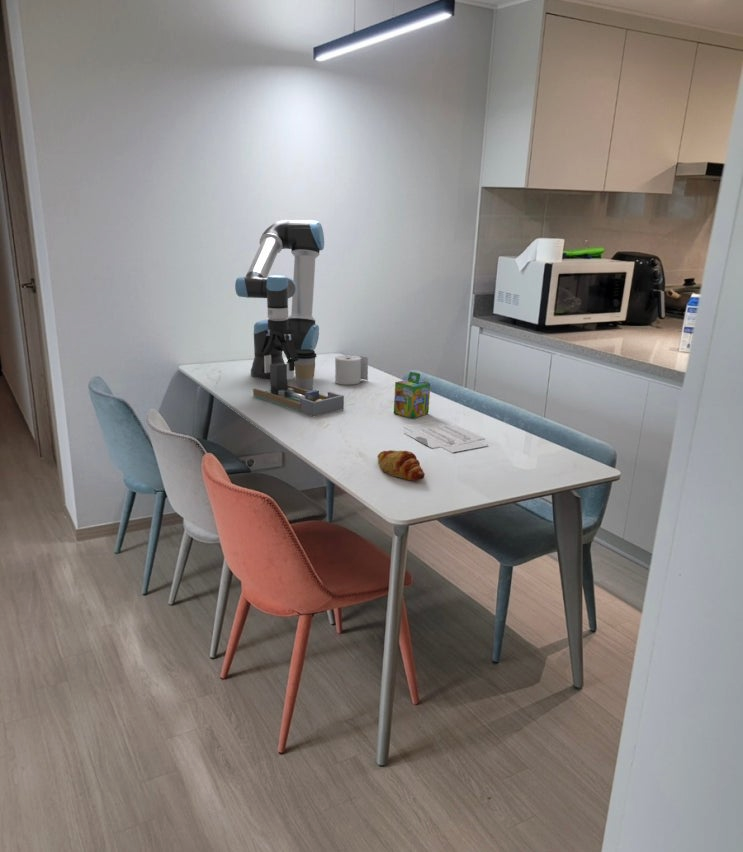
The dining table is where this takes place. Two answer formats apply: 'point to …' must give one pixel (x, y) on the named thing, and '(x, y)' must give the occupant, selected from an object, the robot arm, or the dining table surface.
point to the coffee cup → (305, 368)
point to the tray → (445, 436)
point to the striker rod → (286, 383)
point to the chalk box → (412, 397)
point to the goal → (322, 405)
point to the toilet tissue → (350, 369)
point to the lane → (284, 397)
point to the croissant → (400, 464)
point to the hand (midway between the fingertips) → (279, 375)
